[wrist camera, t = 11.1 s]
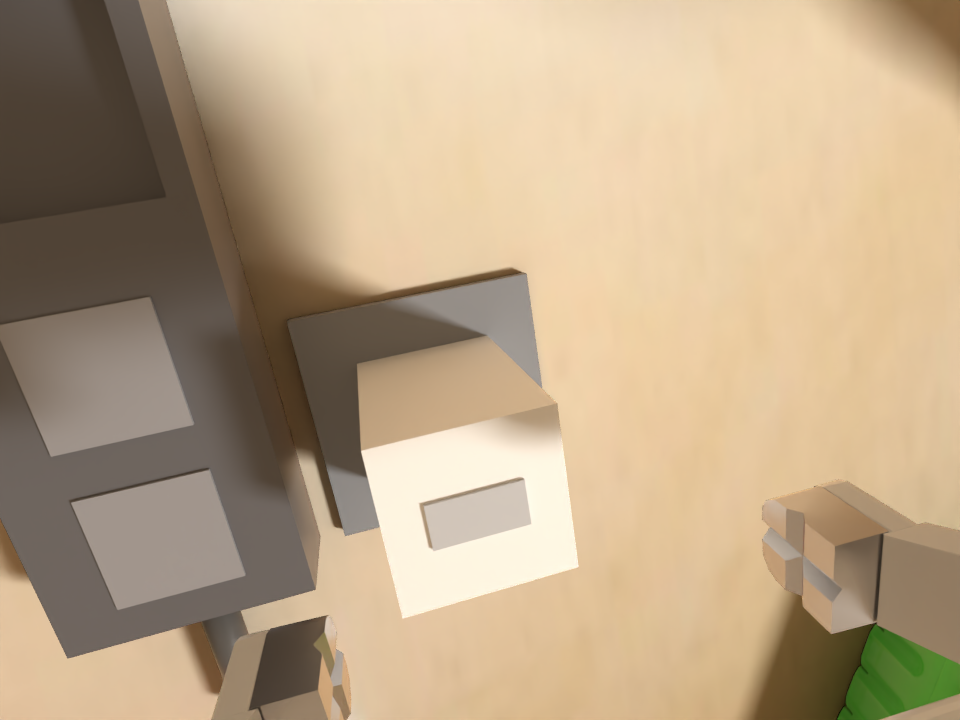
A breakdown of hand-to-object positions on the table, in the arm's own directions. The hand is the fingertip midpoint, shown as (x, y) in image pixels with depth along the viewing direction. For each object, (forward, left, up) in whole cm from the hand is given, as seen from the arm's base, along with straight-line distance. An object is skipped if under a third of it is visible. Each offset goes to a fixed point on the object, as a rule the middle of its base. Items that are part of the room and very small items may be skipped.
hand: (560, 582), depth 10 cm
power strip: (+9, -3, -11) cm, 15 cm away
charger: (+1, 0, -10) cm, 10 cm away
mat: (+1, 0, -11) cm, 11 cm away
